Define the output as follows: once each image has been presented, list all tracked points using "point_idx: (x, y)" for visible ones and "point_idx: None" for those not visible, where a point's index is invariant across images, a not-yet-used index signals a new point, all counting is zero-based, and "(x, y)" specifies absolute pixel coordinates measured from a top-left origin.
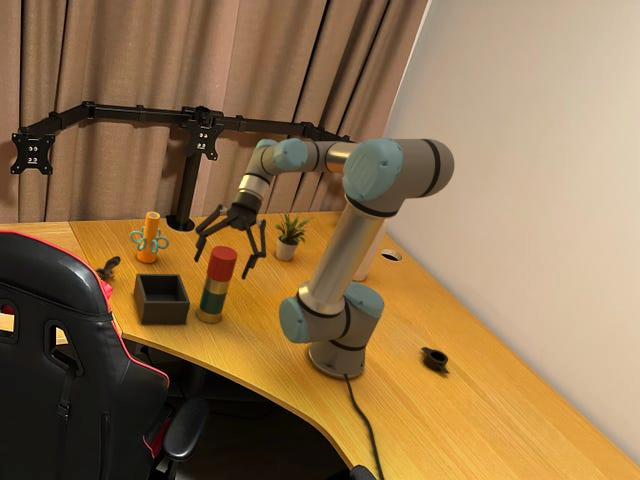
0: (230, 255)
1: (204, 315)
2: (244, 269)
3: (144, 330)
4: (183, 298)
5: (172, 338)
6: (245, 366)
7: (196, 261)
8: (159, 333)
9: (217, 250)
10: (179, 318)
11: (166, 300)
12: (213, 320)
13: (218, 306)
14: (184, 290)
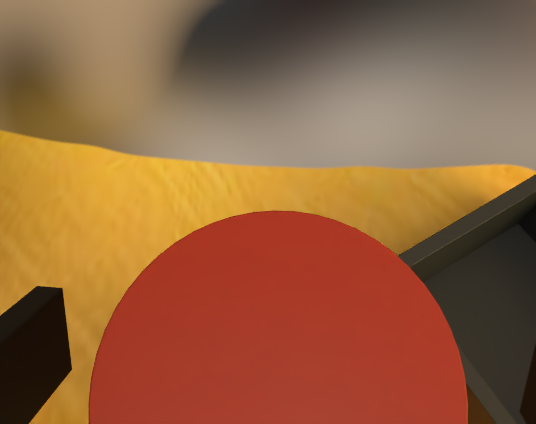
0: (183, 350)
1: None
2: (17, 327)
3: (482, 190)
4: None
5: (371, 199)
6: (87, 190)
7: (533, 389)
8: (426, 201)
9: (387, 375)
10: None
11: (521, 420)
12: None
13: None
14: (462, 365)
